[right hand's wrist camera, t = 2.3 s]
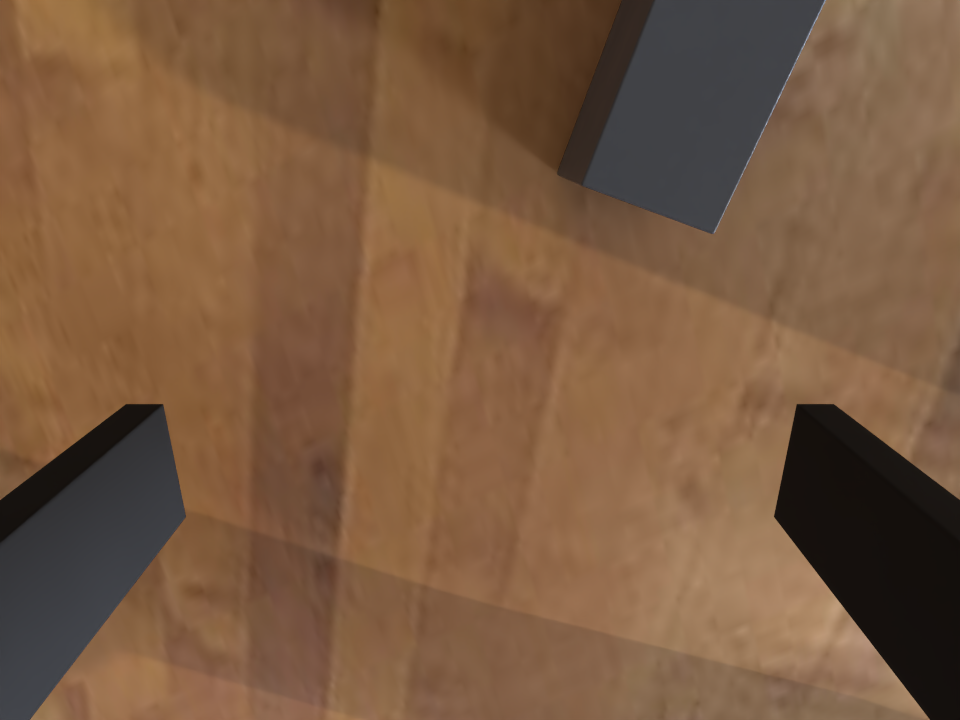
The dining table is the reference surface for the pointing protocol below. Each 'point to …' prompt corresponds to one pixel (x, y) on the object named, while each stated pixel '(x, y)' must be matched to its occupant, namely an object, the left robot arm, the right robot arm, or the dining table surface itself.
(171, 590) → the dining table surface
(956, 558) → the right robot arm
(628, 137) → the beam
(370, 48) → the dining table surface
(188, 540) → the dining table surface
